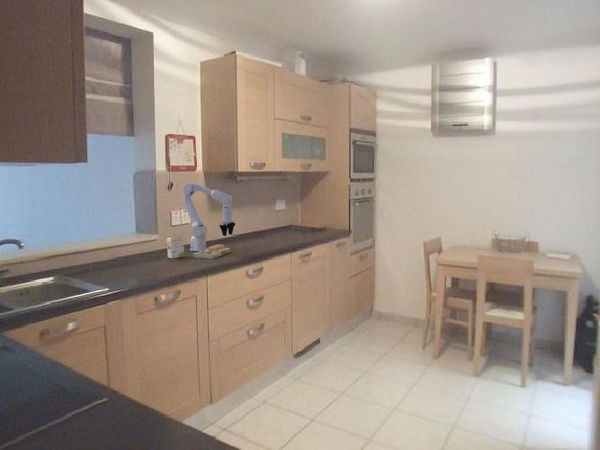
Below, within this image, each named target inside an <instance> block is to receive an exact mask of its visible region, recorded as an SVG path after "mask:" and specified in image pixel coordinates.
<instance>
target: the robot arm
mask: <svg viewBox="0 0 600 450" xmlns="http://www.w3.org/2000/svg"><path fill="white" fill-rule="evenodd" d="M198 191H199V192H202V193H203V194H204V193H205V194H206V195H209V196H211V199H213V200H216V201H218V202H220V203H222V220H221V221H220V222H219V223H220V224H219V225H218V226H219V228H220V231H221V233H222V236H223V237H226V236H227V235H233V233H234V232H233V231H234V228H235V227H236V223H235V219H233V210H232V208H233V207H232V206H233V204H232V203H233V200H234V199H233V197H232V195H231V194H227V193H226V192H222V191H220V190H219V189H213V190H212V189H210V188H208V187H206V186H204V185H203V184H200V183H196V182H194V181H191V182H185V183H184V184H183V185H182V187H181V200H182V202H183V205H184V207H185V210H186V212H187V215H188V217H189V219H190V222H191V223H192V225H191V228H192V234H193V236H191V238H190V241H189V242H190V244H189V245H190V246H189V247H190V249H189V250H190V251H191V252H193V251H195V252H199V251H202V250H205V249H208V247H207V238H206V237H207V236H206V234H207V232H208V229H207V227H206V226H205V225H204V223H203V222H202V221H201V219H200V217H199V214H198V213H197V210H196V208H195V205H194V202H193V200H192V197H193V194H194V193H195V192H198Z"/></svg>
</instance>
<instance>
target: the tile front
mask: <svg viewBox="0 0 600 450" xmlns="http://www.w3.org/2000/svg"><path fill="white" fill-rule="evenodd" d="M207 248H208V251H217V250H219V246H214V245H211V246H209V247H207Z"/></svg>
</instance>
